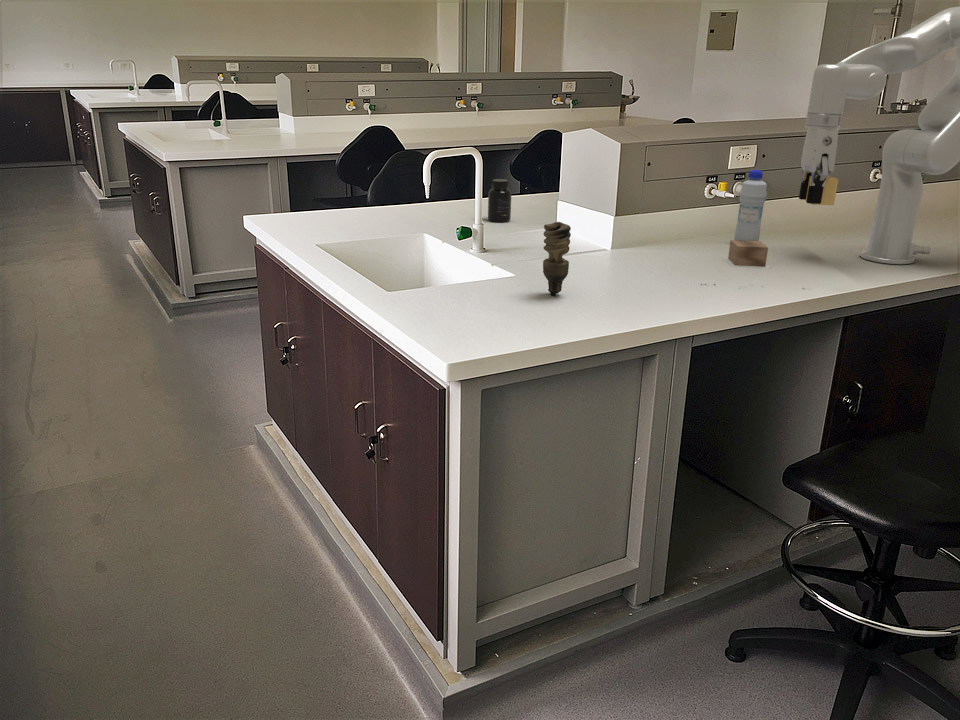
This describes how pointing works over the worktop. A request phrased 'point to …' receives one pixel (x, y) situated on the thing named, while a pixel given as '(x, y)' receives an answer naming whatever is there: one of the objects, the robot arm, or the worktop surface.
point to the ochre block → (827, 190)
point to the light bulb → (556, 255)
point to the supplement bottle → (499, 202)
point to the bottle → (751, 207)
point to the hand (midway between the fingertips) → (809, 200)
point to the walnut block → (748, 253)
